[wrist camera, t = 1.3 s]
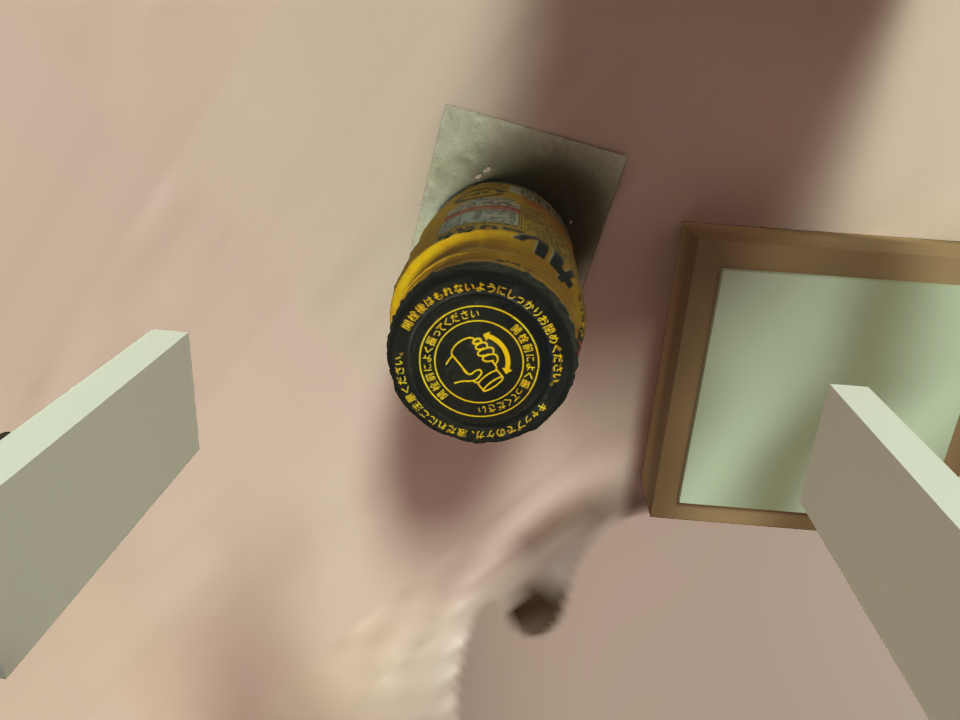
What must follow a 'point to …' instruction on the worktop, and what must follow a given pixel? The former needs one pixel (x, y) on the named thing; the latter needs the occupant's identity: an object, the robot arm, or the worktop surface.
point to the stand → (793, 361)
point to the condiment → (498, 277)
